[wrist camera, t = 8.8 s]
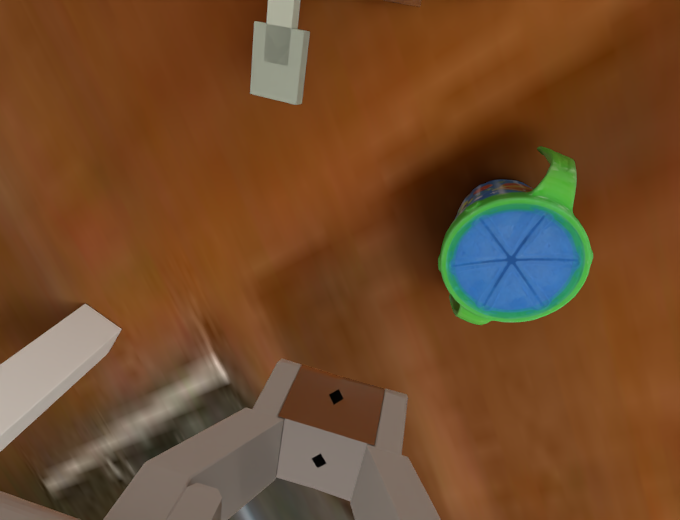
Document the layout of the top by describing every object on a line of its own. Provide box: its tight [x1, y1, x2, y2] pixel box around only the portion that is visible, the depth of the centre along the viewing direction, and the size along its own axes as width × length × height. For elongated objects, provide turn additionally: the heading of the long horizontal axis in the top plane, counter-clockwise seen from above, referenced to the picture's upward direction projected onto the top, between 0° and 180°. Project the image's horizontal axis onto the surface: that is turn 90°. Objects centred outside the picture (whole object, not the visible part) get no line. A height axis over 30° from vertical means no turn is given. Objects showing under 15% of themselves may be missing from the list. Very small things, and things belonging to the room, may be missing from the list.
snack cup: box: [438, 146, 593, 325], centre depth 36 cm, size 16×10×10 cm
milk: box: [0, 304, 122, 451], centre depth 50 cm, size 6×6×22 cm
